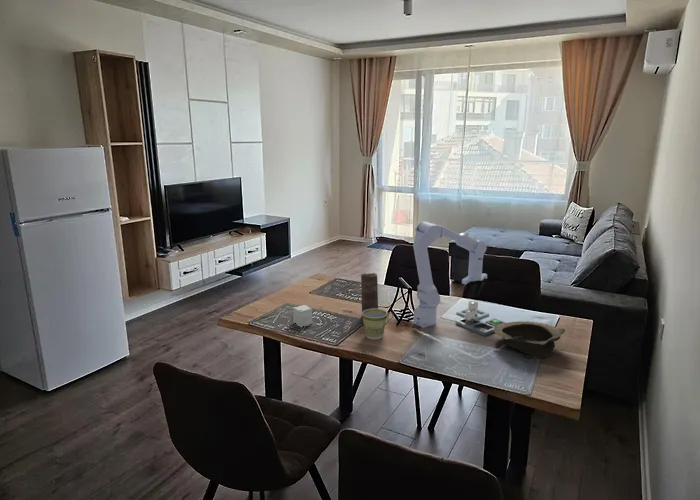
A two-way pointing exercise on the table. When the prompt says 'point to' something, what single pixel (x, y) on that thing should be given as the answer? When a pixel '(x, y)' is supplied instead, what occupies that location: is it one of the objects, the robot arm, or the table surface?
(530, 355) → the stone bowl
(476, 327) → the pallet
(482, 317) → the grey square frame
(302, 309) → the skincare box
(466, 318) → the billet
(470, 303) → the billet
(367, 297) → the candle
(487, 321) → the button housing
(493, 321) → the button
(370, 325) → the ceramic cup
